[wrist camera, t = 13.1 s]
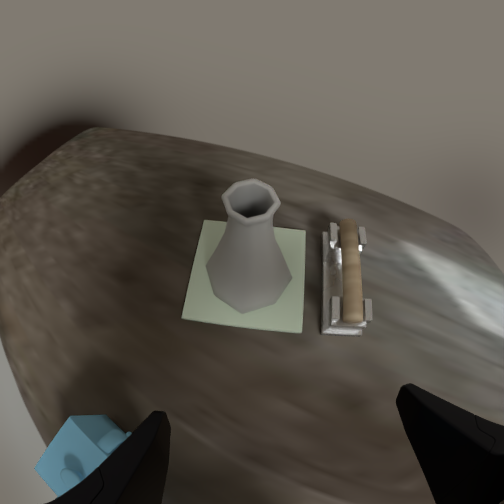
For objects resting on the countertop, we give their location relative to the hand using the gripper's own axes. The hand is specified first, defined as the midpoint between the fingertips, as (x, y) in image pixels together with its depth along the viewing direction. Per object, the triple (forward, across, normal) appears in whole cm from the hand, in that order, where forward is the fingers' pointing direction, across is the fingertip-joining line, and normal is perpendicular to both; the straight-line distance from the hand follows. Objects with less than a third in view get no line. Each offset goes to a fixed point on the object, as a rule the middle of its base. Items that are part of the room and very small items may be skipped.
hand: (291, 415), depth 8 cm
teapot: (+4, +14, +14) cm, 20 cm away
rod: (+14, -8, 0) cm, 16 cm away
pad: (+17, +1, 0) cm, 17 cm away
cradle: (+16, -8, +2) cm, 17 cm away
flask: (+16, +1, 0) cm, 16 cm away
